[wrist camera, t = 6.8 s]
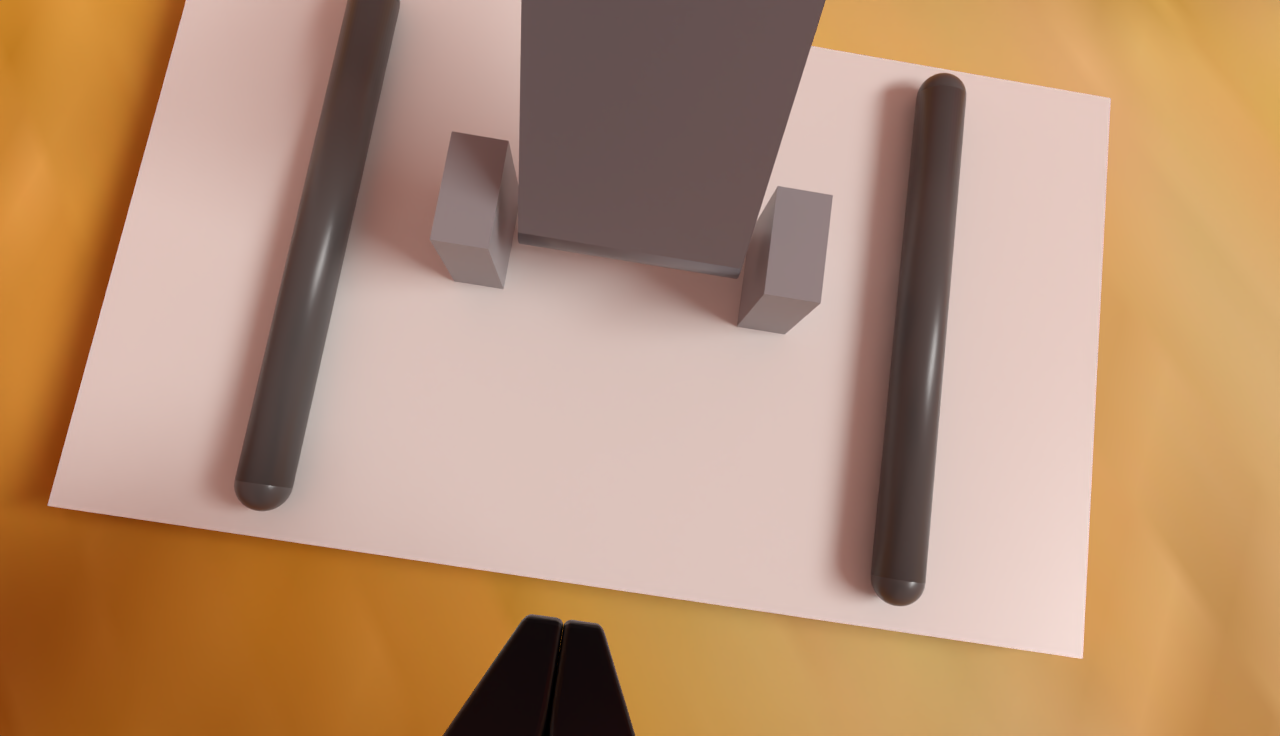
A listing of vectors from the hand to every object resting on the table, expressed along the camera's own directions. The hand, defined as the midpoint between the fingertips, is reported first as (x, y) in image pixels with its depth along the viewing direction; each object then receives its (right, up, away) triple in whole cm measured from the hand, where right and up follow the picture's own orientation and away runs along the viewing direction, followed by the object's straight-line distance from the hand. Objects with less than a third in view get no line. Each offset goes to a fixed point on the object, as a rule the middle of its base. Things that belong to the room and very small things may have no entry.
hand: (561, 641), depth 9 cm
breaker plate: (+1, +5, +9) cm, 10 cm away
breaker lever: (+1, +6, +6) cm, 8 cm away
